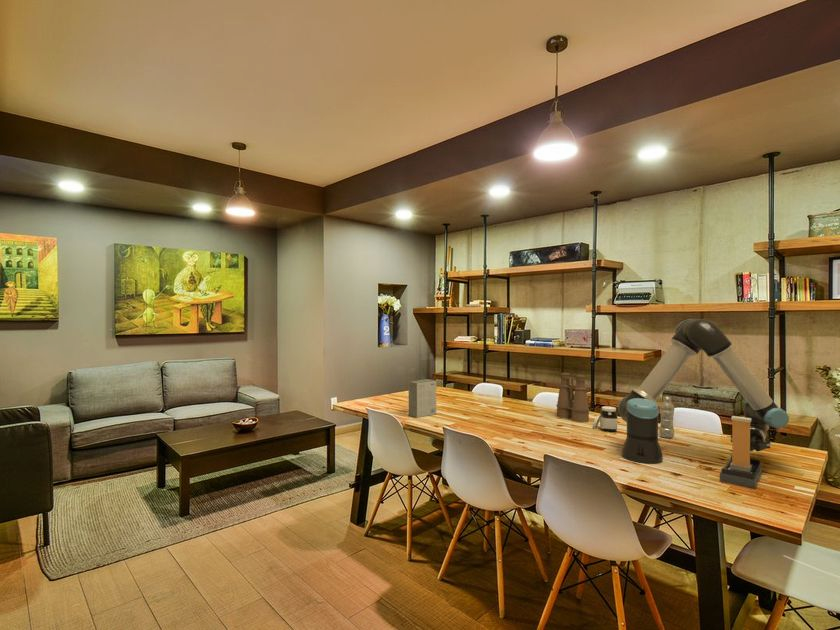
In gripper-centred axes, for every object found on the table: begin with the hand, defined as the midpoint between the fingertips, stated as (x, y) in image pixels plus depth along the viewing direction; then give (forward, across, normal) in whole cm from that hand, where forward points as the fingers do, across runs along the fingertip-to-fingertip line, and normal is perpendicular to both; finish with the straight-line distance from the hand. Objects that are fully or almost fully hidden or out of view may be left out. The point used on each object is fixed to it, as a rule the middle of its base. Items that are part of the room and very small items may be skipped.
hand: (744, 450), depth 166 cm
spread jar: (-37, +63, -10) cm, 74 cm away
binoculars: (-50, +86, -10) cm, 100 cm away
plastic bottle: (-42, +35, -10) cm, 56 cm away
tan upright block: (+2, +1, -7) cm, 7 cm away
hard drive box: (+4, +153, -10) cm, 153 cm away
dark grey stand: (0, +1, -10) cm, 10 cm away
